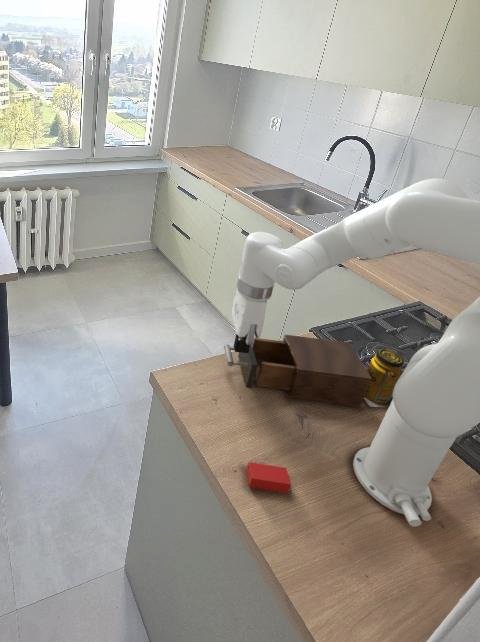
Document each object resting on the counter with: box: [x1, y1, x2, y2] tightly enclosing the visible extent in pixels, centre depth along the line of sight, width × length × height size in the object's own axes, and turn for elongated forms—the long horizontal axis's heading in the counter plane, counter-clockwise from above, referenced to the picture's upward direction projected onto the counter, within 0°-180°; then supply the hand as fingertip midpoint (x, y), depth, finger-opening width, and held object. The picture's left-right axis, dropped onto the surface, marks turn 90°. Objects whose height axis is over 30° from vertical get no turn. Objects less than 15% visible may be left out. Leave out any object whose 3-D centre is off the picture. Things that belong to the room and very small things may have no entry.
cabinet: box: [282, 334, 372, 409], centre depth 100 cm, size 16×12×9 cm
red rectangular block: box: [245, 461, 292, 494], centre depth 78 cm, size 7×3×3 cm, turn 83°
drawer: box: [223, 337, 297, 391], centre depth 101 cm, size 19×10×7 cm, turn 83°
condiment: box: [363, 348, 404, 408], centre depth 97 cm, size 7×8×12 cm
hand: (240, 350), depth 100 cm, fingers closed
